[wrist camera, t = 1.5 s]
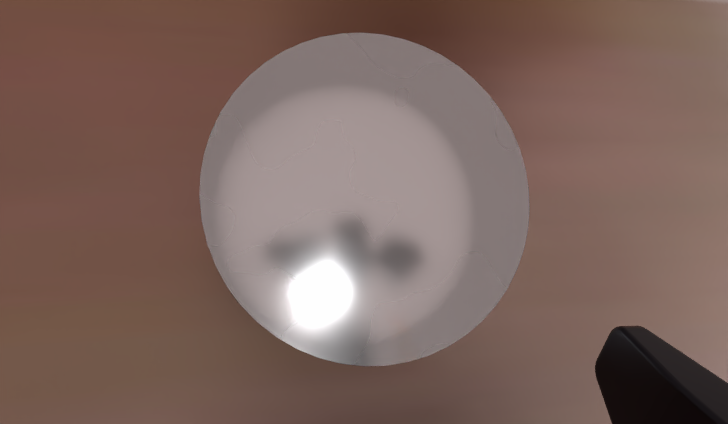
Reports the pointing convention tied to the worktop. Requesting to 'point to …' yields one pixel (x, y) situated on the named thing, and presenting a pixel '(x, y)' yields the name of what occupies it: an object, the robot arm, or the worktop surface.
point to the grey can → (364, 199)
